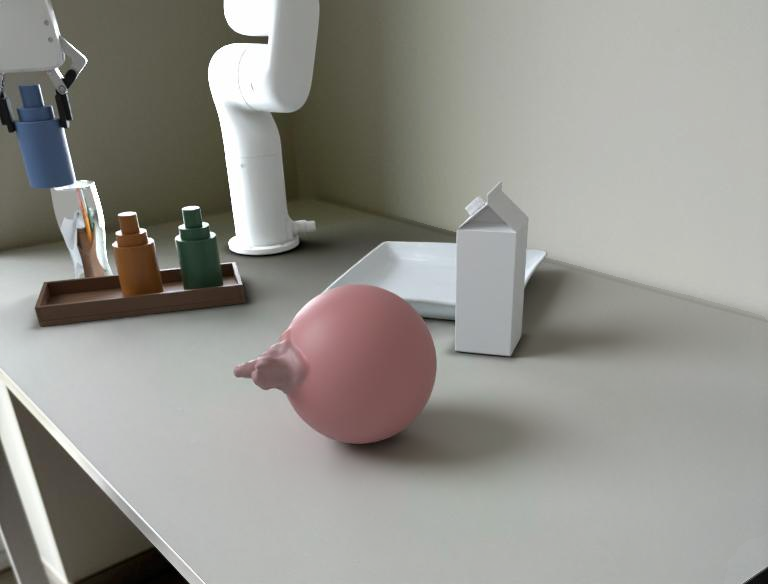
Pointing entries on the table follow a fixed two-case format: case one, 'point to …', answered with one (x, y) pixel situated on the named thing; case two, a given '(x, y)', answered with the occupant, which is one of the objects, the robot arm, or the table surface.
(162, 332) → the table surface
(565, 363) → the table surface
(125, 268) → the amber bottle
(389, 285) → the square plate
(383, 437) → the balloon
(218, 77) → the robot arm
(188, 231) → the green bottle
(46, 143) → the blue bottle
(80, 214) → the beer glass
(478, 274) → the milk carton
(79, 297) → the tray
